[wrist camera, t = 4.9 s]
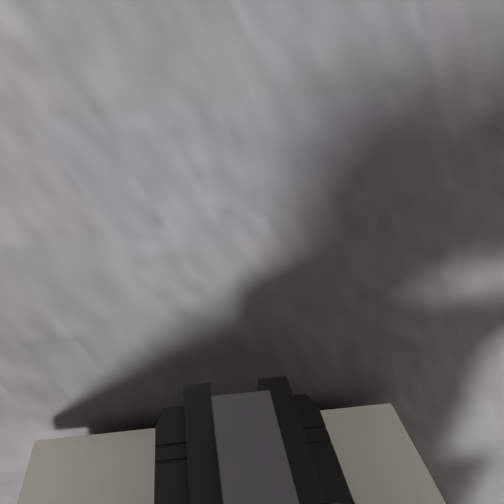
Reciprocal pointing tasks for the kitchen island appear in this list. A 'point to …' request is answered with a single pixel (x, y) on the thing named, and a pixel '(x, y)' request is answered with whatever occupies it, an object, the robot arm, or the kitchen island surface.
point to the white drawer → (235, 459)
